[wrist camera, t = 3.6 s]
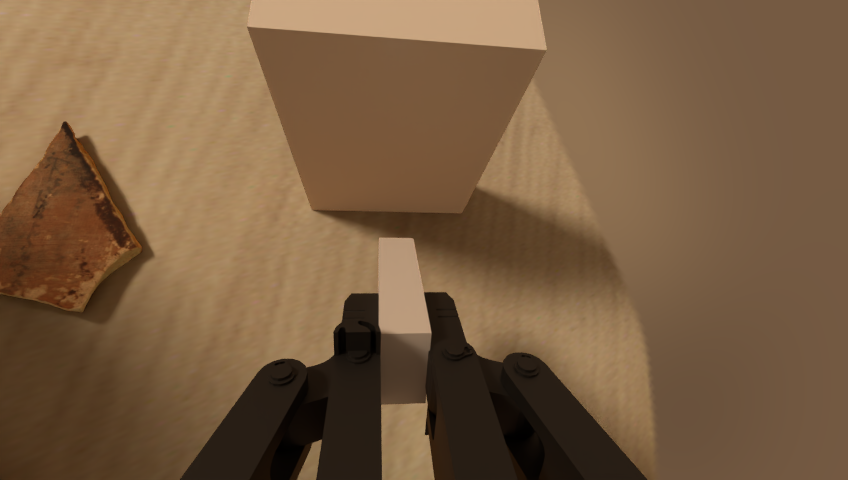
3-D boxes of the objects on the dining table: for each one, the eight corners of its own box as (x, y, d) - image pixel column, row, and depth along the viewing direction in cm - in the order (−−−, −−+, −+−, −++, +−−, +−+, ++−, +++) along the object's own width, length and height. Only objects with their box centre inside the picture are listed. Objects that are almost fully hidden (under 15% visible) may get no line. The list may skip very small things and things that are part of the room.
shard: (80, 134, 26) (60, 117, 24) (195, 163, 26) (183, 147, 24) (-22, 290, 22) (-55, 282, 20) (114, 321, 22) (93, 316, 20)
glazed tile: (311, 209, 25) (247, 26, 12) (314, 174, 26) (256, -32, 13) (461, 213, 27) (546, 49, 14) (459, 179, 28) (537, -5, 15)
